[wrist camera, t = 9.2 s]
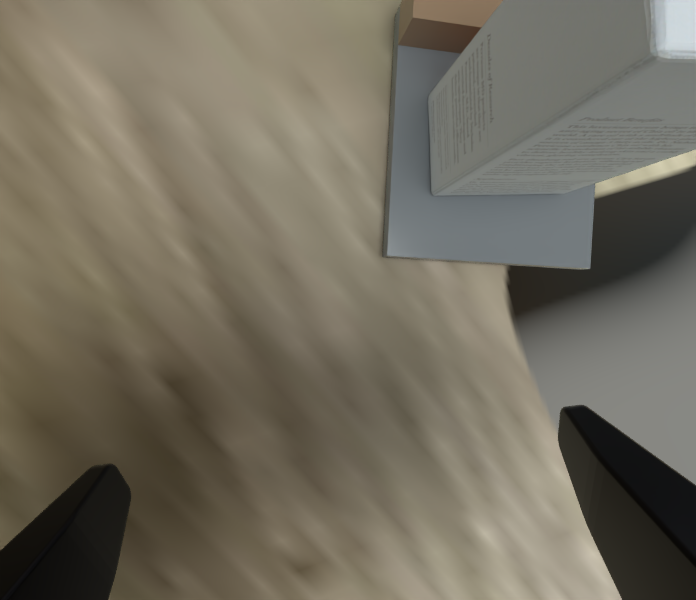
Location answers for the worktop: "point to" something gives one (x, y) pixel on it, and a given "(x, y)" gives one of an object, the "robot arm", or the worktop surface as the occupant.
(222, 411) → the worktop surface
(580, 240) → the plate
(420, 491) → the worktop surface
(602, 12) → the skincare box
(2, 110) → the worktop surface
